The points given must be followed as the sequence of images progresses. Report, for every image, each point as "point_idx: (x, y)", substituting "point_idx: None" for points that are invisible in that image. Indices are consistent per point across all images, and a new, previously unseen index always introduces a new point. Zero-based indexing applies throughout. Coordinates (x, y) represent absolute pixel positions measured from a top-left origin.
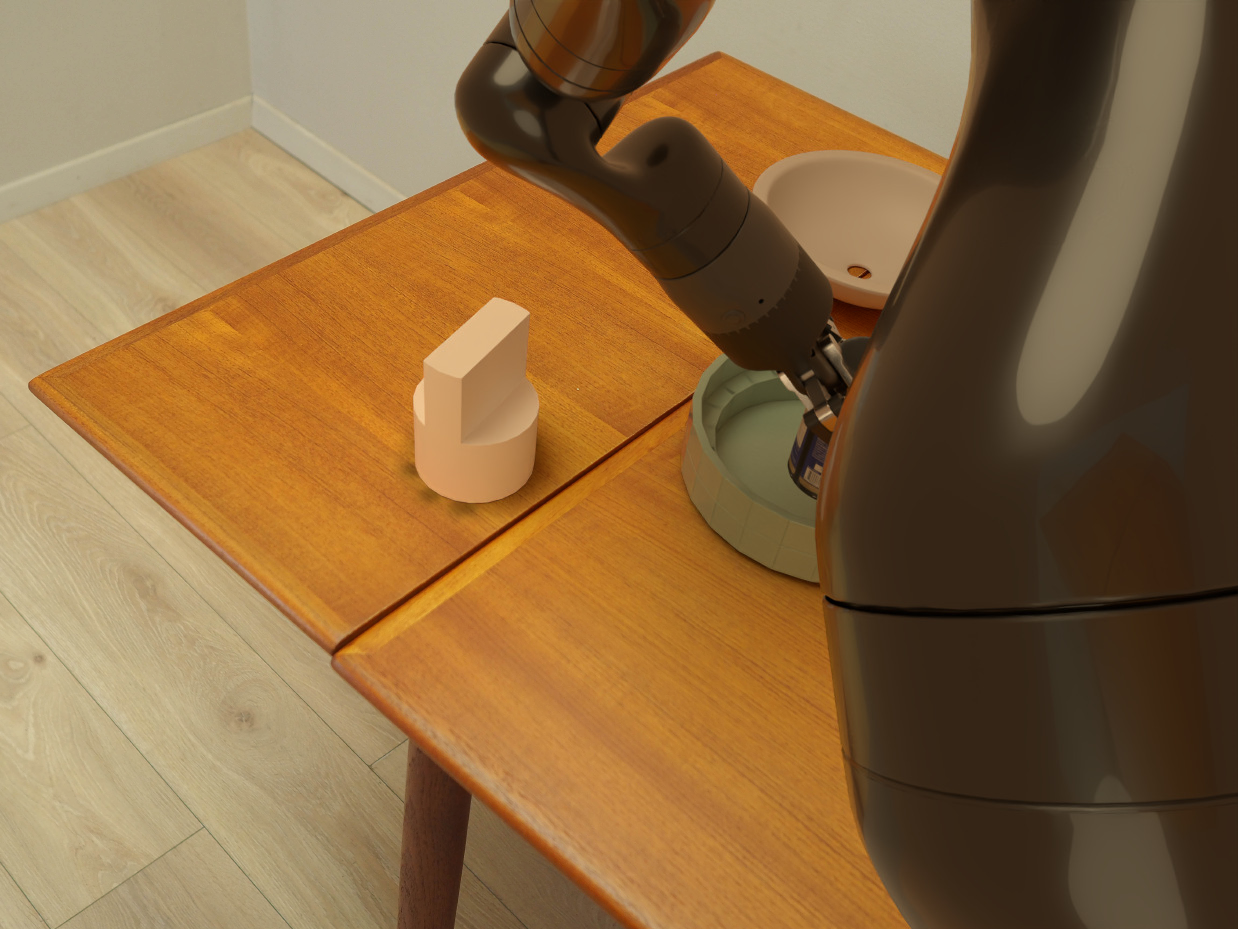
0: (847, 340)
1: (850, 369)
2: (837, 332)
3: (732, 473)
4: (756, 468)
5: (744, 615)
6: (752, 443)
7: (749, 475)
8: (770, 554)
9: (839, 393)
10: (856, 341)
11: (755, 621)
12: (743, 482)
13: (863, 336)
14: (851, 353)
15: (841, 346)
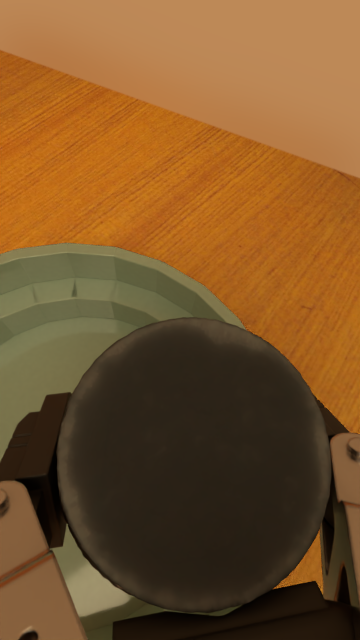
0: (90, 540)
1: (358, 589)
2: (48, 603)
3: (74, 589)
4: (64, 544)
5: (313, 577)
6: None
7: (79, 558)
8: None
9: (337, 585)
10: (93, 494)
11: (319, 561)
12: (93, 570)
13: (61, 456)
14: (173, 531)
15: (135, 580)
